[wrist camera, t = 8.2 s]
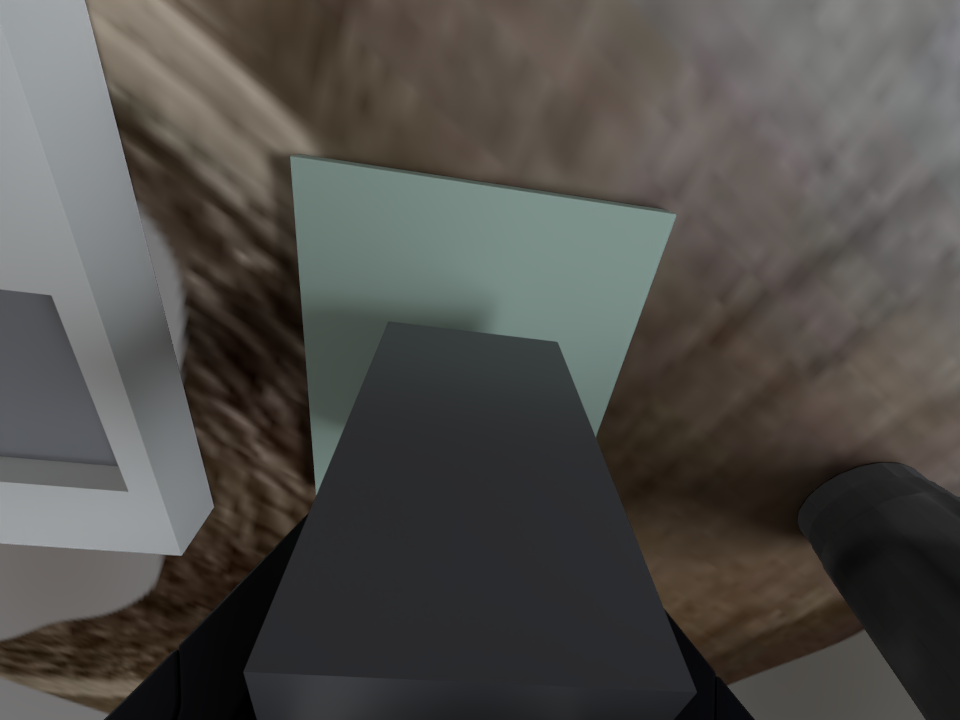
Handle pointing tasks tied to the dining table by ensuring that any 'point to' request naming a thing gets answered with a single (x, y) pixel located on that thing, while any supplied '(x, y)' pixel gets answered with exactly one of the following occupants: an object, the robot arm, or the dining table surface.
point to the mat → (461, 274)
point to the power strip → (81, 314)
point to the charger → (467, 555)
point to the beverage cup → (896, 572)
